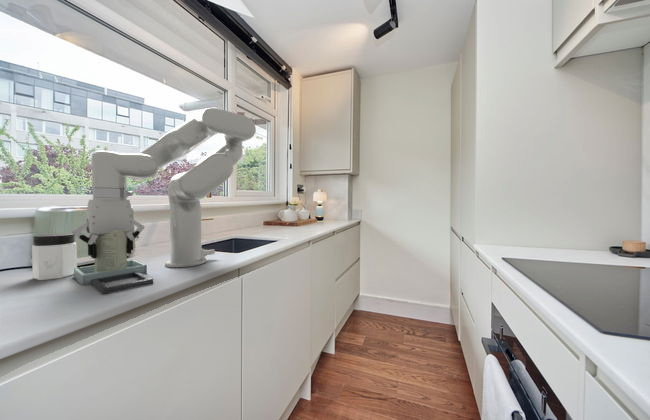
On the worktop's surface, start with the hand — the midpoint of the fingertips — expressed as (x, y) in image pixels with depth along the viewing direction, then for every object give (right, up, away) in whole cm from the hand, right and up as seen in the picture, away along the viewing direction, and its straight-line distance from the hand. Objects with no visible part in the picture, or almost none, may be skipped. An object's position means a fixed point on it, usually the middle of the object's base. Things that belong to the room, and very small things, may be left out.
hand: (111, 255), depth 73 cm
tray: (0, -6, 0) cm, 6 cm away
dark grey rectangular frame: (+10, -6, -8) cm, 14 cm away
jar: (-15, -6, -1) cm, 17 cm away
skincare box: (0, -5, 0) cm, 5 cm away
